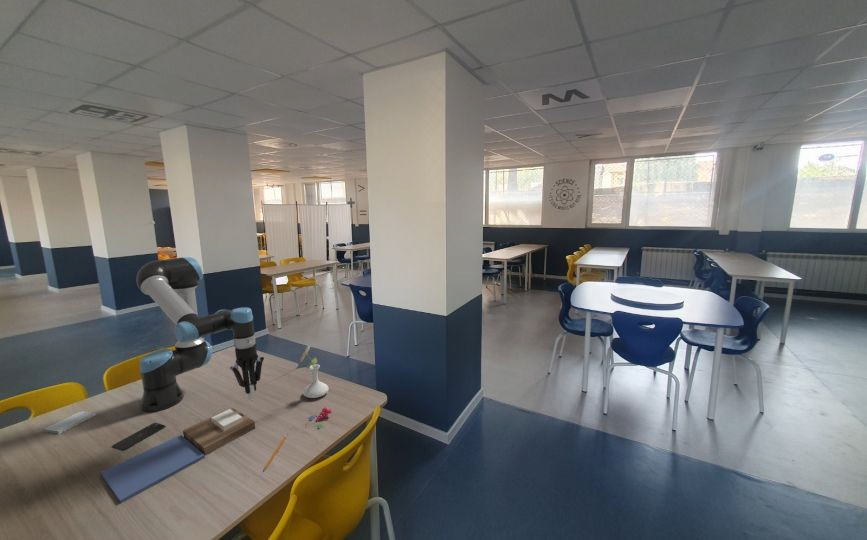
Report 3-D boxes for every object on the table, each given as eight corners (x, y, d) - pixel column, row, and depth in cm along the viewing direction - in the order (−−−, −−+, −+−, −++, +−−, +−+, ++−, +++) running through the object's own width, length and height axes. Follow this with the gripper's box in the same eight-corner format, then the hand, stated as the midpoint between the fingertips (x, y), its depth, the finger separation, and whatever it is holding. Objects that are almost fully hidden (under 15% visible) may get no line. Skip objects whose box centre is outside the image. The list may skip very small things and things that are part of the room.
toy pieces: (314, 411, 146) (314, 402, 145) (336, 416, 142) (335, 407, 141) (294, 428, 135) (293, 418, 134) (317, 434, 131) (316, 424, 130)
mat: (101, 474, 111) (100, 472, 111) (181, 436, 129) (180, 434, 129) (120, 503, 100) (120, 500, 100) (204, 457, 118) (204, 454, 118)
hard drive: (58, 431, 131) (95, 412, 143) (42, 429, 133) (80, 410, 145) (59, 435, 132) (96, 416, 144) (43, 432, 133) (81, 414, 145)
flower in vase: (314, 385, 166) (311, 338, 162) (333, 390, 162) (330, 341, 158) (295, 399, 154) (290, 348, 150) (315, 404, 150) (311, 351, 146)
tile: (211, 422, 133) (211, 417, 133) (230, 413, 139) (229, 408, 139) (224, 430, 128) (223, 426, 127) (243, 421, 133) (242, 416, 133)
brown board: (183, 437, 129) (182, 430, 128) (232, 413, 144) (231, 407, 143) (205, 455, 119) (204, 447, 119) (255, 428, 134) (254, 421, 133)
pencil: (285, 434, 130) (261, 472, 111) (286, 432, 130) (262, 469, 111) (287, 435, 130) (263, 473, 111) (289, 433, 130) (265, 471, 111)
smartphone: (110, 445, 124) (154, 421, 138) (110, 447, 124) (155, 423, 138) (123, 450, 122) (167, 425, 136) (123, 452, 122) (167, 427, 136)
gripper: (233, 353, 129) (240, 409, 133) (266, 342, 140) (271, 394, 144) (223, 349, 133) (231, 403, 137) (256, 338, 144) (262, 389, 148)
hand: (251, 399), depth 141 cm, fingers closed
